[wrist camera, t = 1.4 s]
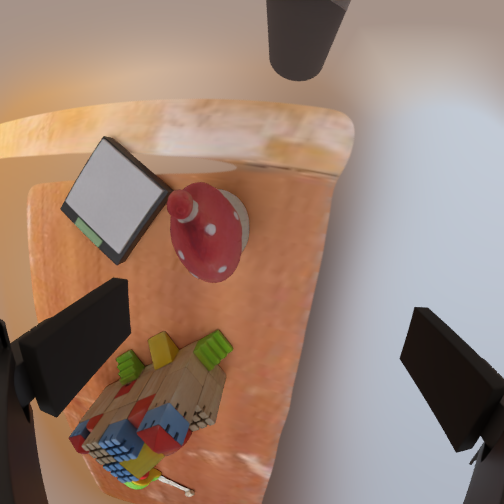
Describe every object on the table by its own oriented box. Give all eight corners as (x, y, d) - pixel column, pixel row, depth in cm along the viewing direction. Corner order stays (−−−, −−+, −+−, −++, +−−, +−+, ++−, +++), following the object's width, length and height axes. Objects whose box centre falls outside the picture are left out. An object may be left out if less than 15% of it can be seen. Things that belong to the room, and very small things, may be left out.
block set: (133, 430, 47) (94, 504, 28) (83, 375, 45) (24, 442, 26) (260, 381, 42) (251, 487, 23) (203, 307, 40) (153, 398, 21)
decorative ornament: (196, 183, 37) (149, 184, 22) (250, 181, 36) (234, 179, 21) (199, 258, 39) (158, 301, 24) (251, 258, 38) (237, 303, 23)
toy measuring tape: (121, 443, 48) (109, 465, 42) (200, 488, 50) (194, 510, 44) (111, 454, 50) (100, 474, 43) (186, 495, 51) (180, 516, 45)
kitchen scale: (112, 138, 36) (101, 135, 33) (175, 191, 37) (167, 192, 34) (69, 207, 38) (57, 209, 35) (124, 261, 39) (114, 266, 37)
